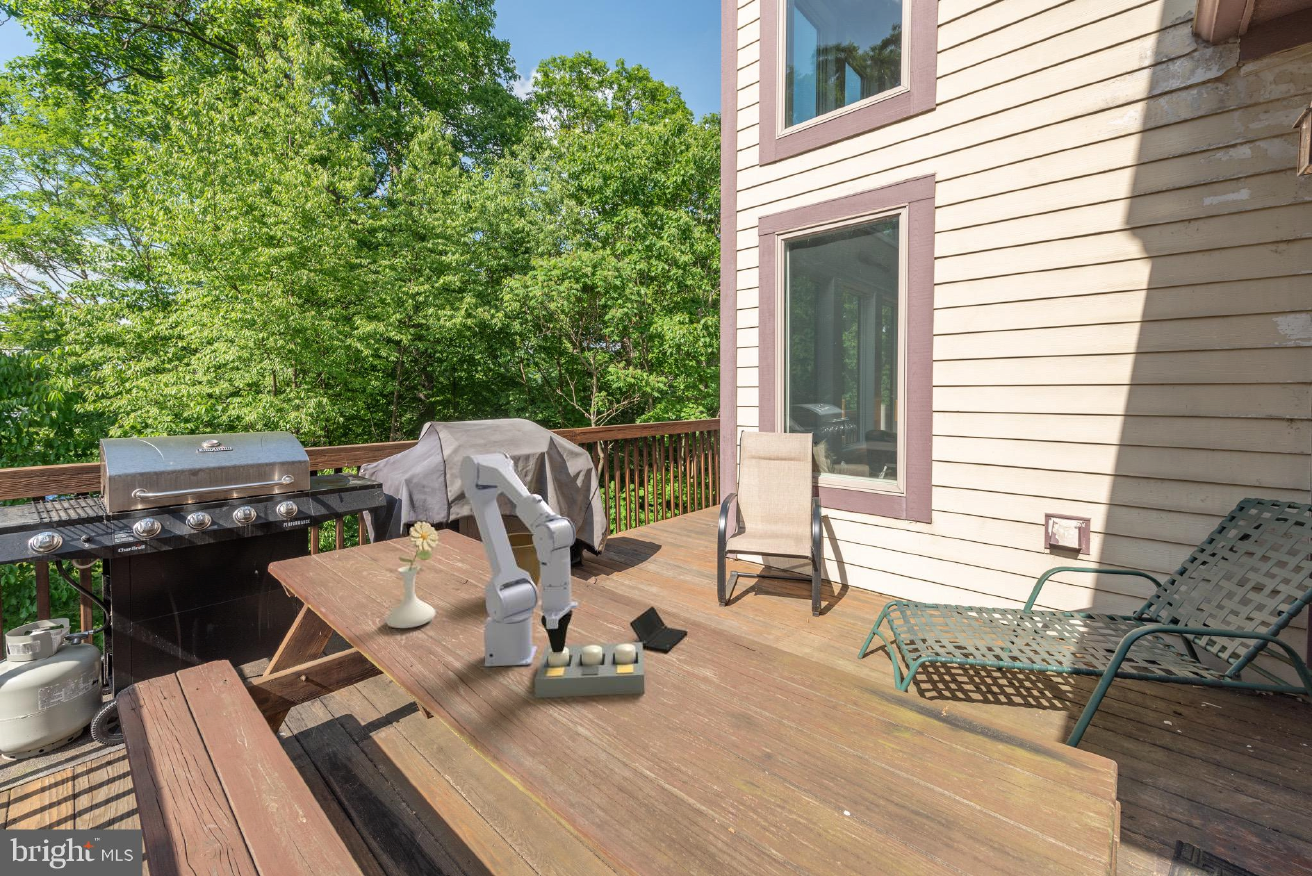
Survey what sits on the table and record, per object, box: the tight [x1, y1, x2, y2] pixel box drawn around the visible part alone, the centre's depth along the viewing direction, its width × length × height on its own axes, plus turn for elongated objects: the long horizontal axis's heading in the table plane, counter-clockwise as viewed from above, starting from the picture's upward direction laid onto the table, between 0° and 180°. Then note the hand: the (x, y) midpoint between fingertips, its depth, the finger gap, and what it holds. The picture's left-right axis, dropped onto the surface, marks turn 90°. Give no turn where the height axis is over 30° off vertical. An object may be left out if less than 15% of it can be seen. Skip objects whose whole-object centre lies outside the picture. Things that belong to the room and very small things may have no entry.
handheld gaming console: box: [629, 606, 688, 654], centre depth 128 cm, size 12×7×10 cm
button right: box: [615, 644, 636, 665], centre depth 111 cm, size 4×4×3 cm
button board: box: [534, 641, 646, 699], centre depth 111 cm, size 20×14×4 cm
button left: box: [548, 647, 569, 667], centre depth 111 cm, size 4×4×3 cm
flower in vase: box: [385, 521, 439, 629], centre depth 140 cm, size 13×11×25 cm
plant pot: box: [502, 532, 541, 588], centre depth 159 cm, size 15×15×16 cm
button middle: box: [581, 645, 602, 666], centre depth 111 cm, size 4×4×3 cm
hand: (558, 650), depth 111 cm, fingers closed
